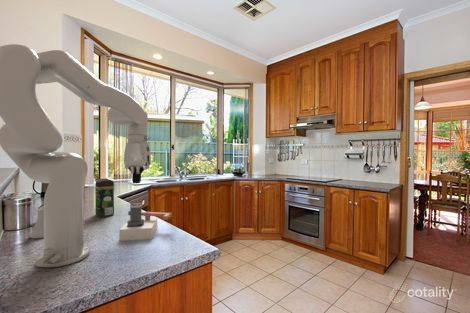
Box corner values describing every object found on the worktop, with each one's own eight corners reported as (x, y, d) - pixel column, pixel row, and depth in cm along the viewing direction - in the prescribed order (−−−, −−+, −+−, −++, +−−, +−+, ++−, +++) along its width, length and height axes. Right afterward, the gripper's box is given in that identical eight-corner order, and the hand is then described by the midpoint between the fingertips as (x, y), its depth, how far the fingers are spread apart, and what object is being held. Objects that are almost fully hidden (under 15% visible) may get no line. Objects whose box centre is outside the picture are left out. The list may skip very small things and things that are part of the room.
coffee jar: (93, 214, 117) (93, 178, 117) (110, 211, 122) (110, 177, 122) (98, 218, 110) (98, 179, 109) (115, 215, 115) (116, 178, 115)
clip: (123, 217, 91) (123, 213, 91) (131, 213, 96) (131, 210, 96) (166, 219, 89) (166, 215, 89) (171, 215, 94) (172, 211, 94)
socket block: (151, 238, 84) (151, 223, 84) (119, 240, 82) (119, 225, 81) (157, 226, 97) (157, 213, 97) (129, 228, 95) (129, 214, 95)
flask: (40, 239, 82) (40, 212, 82) (24, 238, 83) (24, 211, 83) (59, 233, 89) (59, 207, 89) (44, 231, 90) (44, 206, 90)
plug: (142, 237, 85) (142, 205, 85) (125, 238, 84) (125, 205, 84) (145, 231, 91) (145, 202, 91) (129, 232, 90) (129, 202, 90)
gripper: (158, 140, 98) (157, 182, 98) (126, 140, 101) (125, 181, 100) (149, 138, 91) (148, 184, 91) (115, 138, 93) (114, 183, 93)
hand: (136, 182), depth 96 cm, fingers closed
